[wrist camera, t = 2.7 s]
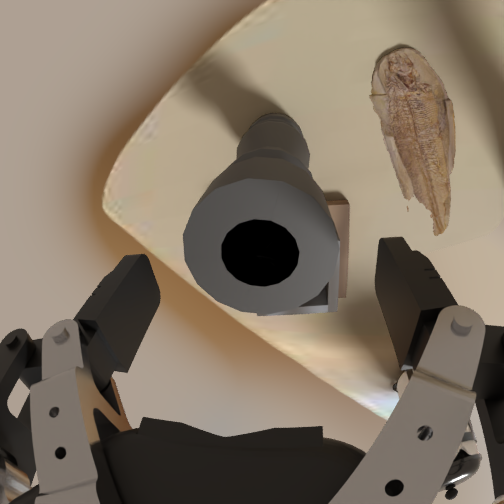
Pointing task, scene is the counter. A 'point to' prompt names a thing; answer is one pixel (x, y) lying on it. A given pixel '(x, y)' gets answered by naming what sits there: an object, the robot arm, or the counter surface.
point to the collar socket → (338, 282)
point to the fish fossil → (417, 129)
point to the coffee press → (465, 456)
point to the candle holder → (263, 225)
